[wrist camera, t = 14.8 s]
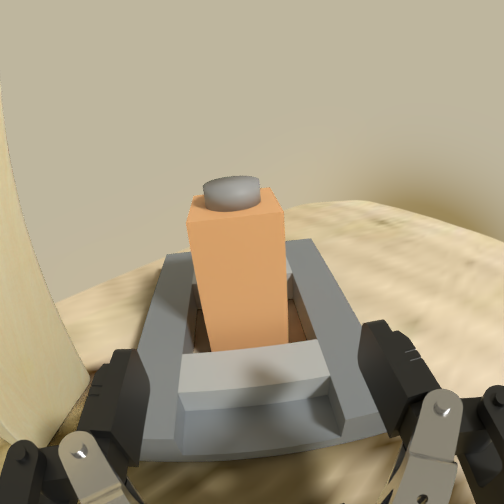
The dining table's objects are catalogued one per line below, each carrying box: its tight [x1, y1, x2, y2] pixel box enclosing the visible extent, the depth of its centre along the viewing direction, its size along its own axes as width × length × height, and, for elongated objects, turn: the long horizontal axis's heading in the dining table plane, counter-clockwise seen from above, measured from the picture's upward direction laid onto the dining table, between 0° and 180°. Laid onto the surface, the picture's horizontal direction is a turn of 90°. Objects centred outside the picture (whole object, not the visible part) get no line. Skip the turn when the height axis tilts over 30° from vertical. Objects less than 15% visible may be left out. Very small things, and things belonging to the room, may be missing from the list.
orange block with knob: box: [186, 176, 289, 352], centre depth 20 cm, size 5×5×11 cm
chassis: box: [137, 239, 387, 462], centre depth 22 cm, size 20×14×2 cm
